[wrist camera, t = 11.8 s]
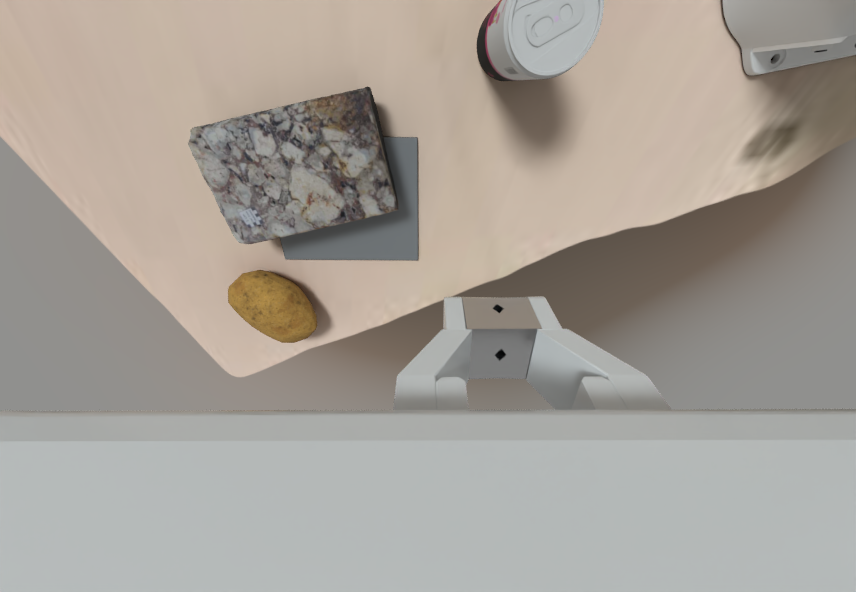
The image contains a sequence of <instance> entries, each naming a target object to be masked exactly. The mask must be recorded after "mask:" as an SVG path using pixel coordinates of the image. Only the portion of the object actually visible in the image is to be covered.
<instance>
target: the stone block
mask: <svg viewBox="0 0 856 592" xmlns="http://www.w3.org/2000/svg"><path fill="white" fill-rule="evenodd" d="M188 145H189V147H190V149H191V151H192V154H193V156H194V158H195V160H196V162H197V164H198V166H199V168H200V171H201V173H202V175H203V177H204V179H205V181H206V182H207V184H208V185H209V187H210V188H211V191H212V193H213V194H214V196H215V199H216V202H217V204H218V206H219V208H220V210H221V213H222V214H223V216H224V218H225V219H226V222H227V224H228V226H229V227H230V229H231V232H232V234H233V236H234V237H235V238H236V239H237V241H238V242H239V243H244V244H253V243H258V242H262V241H267V240H271V239H275V238H280V237H286V236H290V235H294V234H299V233H303V232H308V231H311V230H316V229H320V228H325V227H329V226H335V225H338V224H343V223H348V222H351V221H356V220H361V219H365V218H368V217H372V216H377V215H382V214H385V213H389V212H392V211H396V210H398V206H399V204H398V199H397V194H396V190H395V186H394V181H393V176H392V172H391V169H390V165H389V160H388V156H387V151H386V146H385V142H384V138H383V133H382V129H381V125H380V121H379V116H378V112H377V108H376V105H375V102H374V98H373V95H372V91H371V88H370V87H365V88H363V89H357V90H354V91H349V92H344V93H341V94H335V95H331V96H328V97H321V98H317V99H312V100H308V101H304V102H300V103H296V104H291V105H287V106H282V107H278V108H275V109H270V110H267V111H261V112H256V113H253V114H249V115H244V116H240V117H237V118H231V119H228V120H224V121H221V122H217V123H213V124H207V125H204V126H199V127H194V128H192V129H191V136H190V140H189V143H188Z"/></svg>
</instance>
